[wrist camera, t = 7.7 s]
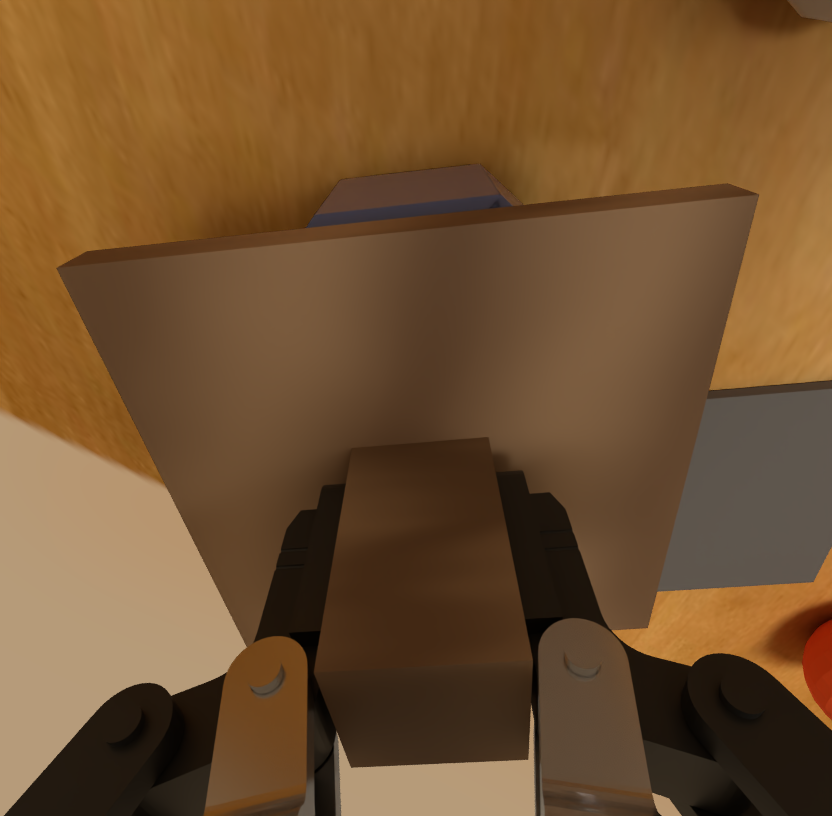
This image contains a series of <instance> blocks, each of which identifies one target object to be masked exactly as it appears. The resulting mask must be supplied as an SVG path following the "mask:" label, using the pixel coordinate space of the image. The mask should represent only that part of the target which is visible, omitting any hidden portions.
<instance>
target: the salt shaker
mask: <svg viewBox="0 0 832 816" xmlns="http://www.w3.org/2000/svg"><path fill="white" fill-rule="evenodd" d="M787 1H788V2H789V3H790V4H791V5H792V7H793V8H794V9H795V10H796V11H797V13H798V14H799V15H800V16H801V17H805V18H811V19H817V20H823V21H829V22H832V0H787Z"/></svg>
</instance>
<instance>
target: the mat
mask: <svg viewBox="0 0 832 816" xmlns="http://www.w3.org/2000/svg"><path fill="white" fill-rule="evenodd" d="M831 547H832V381H822V382H810V383H799V384H787V385H775V386H763V387H751V388H739V389H727V390H715V391H708V395H707V399H706V403H705V407H704V411H703V415H702V419H701V423H700V426H699V430H698V434H697V438H696V442H695V446H694V450H693V454H692V458H691V461H690V465H689V469H688V473H687V477H686V481H685V485H684V489H683V493H682V496H681V500H680V504H679V508H678V512H677V516H676V520H675V524H674V528H673V531H672V535H671V539H670V543H669V547H668V551H667V555H666V559H665V563H664V566H663V570H662V574H661V578H660V582H659V586H658V590H657V592H658V591H675V590H691V589H708V588H724V587H741V586H757V585H773V584H790V583H806V582H814V580H815V578H816V576H817V574H818V572H819V570H820V568H821V566H822V564H823V562H824V560H825V558H826V556H827V554H828V553H829V551H830V549H831Z"/></svg>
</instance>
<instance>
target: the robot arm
mask: <svg viewBox="0 0 832 816" xmlns="http://www.w3.org/2000/svg"><path fill="white" fill-rule="evenodd" d="M496 477H497V482H498V487H499V492H500V497H501V502H502V507H503V512H504V517H505V522H506V527H507V532H508V537H509V542H510V548H511V553H512V558H513V563H514V568H515V573H516V578H517V583H518V588H519V593H520V598H521V603H522V608H523V613H524V618H525V623H526V628H527V633H528V638H529V643H530V648H531V653H532V658H533V670H532V691H531V705H532V711H533V715H534V783H535V816H661V815H660V814H659V813H658V812H657V809H656V806H655V804H654V800H653V795H652V793H655V794H658V795H661V796H664V797H667V798H669V799H670V800H671V802H672V803H673V804H674V805H675V807H676V808H677V810H678V811H679V812H680V814H681V815H682V816H832V730H831V729H829V728H828V727H827V726H826V725H825V724H824V723H823V722H822V721H821V720H820V719H819V718H818V717H816V716H815V715H814V714H813V713H812V712H811V711H810V710H809V709H808V708H807V707H806V706H805V705H804V704H802V703H801V702H800V701H799V700H798V699H797V698H796V697H795V696H794V695H793V694H792V693H791V692H790V691H788V690H787V689H786V688H785V687H784V686H783V685H782V684H781V683H780V682H779V681H778V680H777V679H775V678H774V677H773V676H772V675H771V674H770V673H768V672H767V671H766V670H764V669H763V668H761V667H760V666H758V665H757V664H755V663H753V662H751V661H749V660H747V659H744V658H742V657H739V656H735V655H731V654H723V653H718V654H710V655H706V656H704V657H702V658H700V659H699V660H697V661H696V662H695V663H694V664H693V666H692V667H691V666H688V665H684V664H680V663H676V662H672V661H668V660H664V659H660V658H656V657H652V656H649V655H646V654H643V653H641V652H639V651H637V650H635V649H633V648H631V647H630V646H628V645H627V644H625V643H624V642H623V641H621V640H620V639H619V638H618V637H617V636H616V635H615V634H614V633H613V632H612V631H611V629H610V628H609V627H608V625H607V624H606V622H605V620H604V618H603V616H602V614H601V611H600V608H599V605H598V602H597V599H596V596H595V593H594V590H593V587H592V585H591V582H590V579H589V576H588V573H587V570H586V567H585V564H584V561H583V558H582V555H581V552H580V550H579V549H578V544H577V541H576V538H575V535H574V533H573V530H572V526H571V523H570V520H569V517H568V515H567V512H566V509H565V508H564V507H563V506H562V505H561V503H560V502H559V501H558V500H557V499H556V498H555V497H554V496H553V495H552V494H551V493H550V492H545V493H532V494H530V493H529V490H528V486H527V482H526V478H525V475H524V472H523V471H522V470H518V471H505V472H496ZM345 486H346V483H345V484H332V485H324V486H323V487H322V489H321V493H320V497H319V502H318V506H317V509H312V510H301V511H300V512H299V513H298V515H297V516H296V517H295V518H294V520H293V521H292V522H291V524H290V525H289V526H288V527H287V529H286V532H285V536H284V539H283V543H282V546H281V553H279V557H278V560H277V564H276V570H275V571H274V574H273V578H272V582H271V585H270V589H269V592H268V596H267V599H266V603H265V606H264V610H263V613H262V617H261V620H260V624H259V627H258V631H257V634H256V637H255V640H254V642H253V644H251V645H250V646H248V647H247V648H246V649H245V650H243V651H242V652H241V653H240V654H239V655H238V656H237V657H236V659H235V660H234V661H233V662H232V664H231V666H230V667H229V669H228V672H226V673H225V674H223V675H222V676H220V677H218V678H216V679H213V680H211V681H209V682H206V683H204V684H201V685H198V686H196V687H193V688H191V689H188V690H185V691H183V692H180V693H177V694H175V695H172V696H171V695H170V694H169V693H168V691H167V690H166V689H165V688H163V687H162V686H160V685H157V684H153V683H142V684H137V685H134V686H131V687H129V688H126V689H124V690H122V691H121V692H119V693H117V694H116V695H114V696H113V697H111V698H110V699H109V700H108V701H106V702H105V703H104V704H103V705H102V706H101V707H100V708H99V709H98V710H97V711H96V712H95V714H94V715H93V716H92V717H91V718H90V719H89V720H88V722H87V723H86V724H85V725H84V726H83V727H82V728H81V729H80V730H79V732H78V733H77V734H76V735H75V736H74V737H73V738H72V740H71V741H70V742H69V743H68V744H67V745H66V746H65V747H64V749H63V750H62V751H61V752H60V753H59V754H58V755H57V756H56V758H55V759H54V760H53V761H52V762H51V763H50V764H49V765H48V767H47V768H46V769H45V770H44V771H43V772H42V773H41V775H40V776H39V777H38V778H37V779H36V780H35V781H34V782H33V784H32V785H31V786H30V787H29V788H28V789H27V790H26V792H25V793H24V794H23V795H22V796H21V797H20V798H19V799H18V800H17V802H16V803H15V804H14V805H13V806H12V807H11V808H10V809H9V811H8V812H7V813H6V814H5V815H4V816H341V799H340V773H339V749H338V736H337V733H336V728H335V725H334V723H333V720H332V718H331V715H330V713H329V710H328V708H327V705H326V703H325V700H324V697H323V695H322V692H321V690H320V687H319V685H318V682H317V680H316V677H315V675H314V668H315V662H316V656H317V650H318V644H319V638H320V633H321V627H322V621H323V615H324V609H325V603H326V597H327V592H328V586H329V580H330V574H331V568H332V562H333V556H334V551H335V545H336V539H337V533H338V527H339V521H340V515H341V510H342V504H343V498H344V492H345Z"/></svg>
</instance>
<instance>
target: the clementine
mask: <svg viewBox="0 0 832 816" xmlns="http://www.w3.org/2000/svg"><path fill="white" fill-rule="evenodd" d="M802 665H803V670H804V676H805V680H806V683H807V686H808V688H809V690H810V692H811V694H812V696H813V698H814V700H815V701H816V703H817V704H818V705H819V706H820V708H821V709H822V710H823V711H824V713H825V714H826V715H827V716H828V717H829V718H830V719H831V720H832V620H830V621H827V622H825V623H824V624H822V625H820V626H819V627H818V628H817V629H816V630H815V631H814V633H813V634H812V635H811V637H810V638H809V640H808V641H807V642H806V645H805V649H804V654H803V660H802Z"/></svg>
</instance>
